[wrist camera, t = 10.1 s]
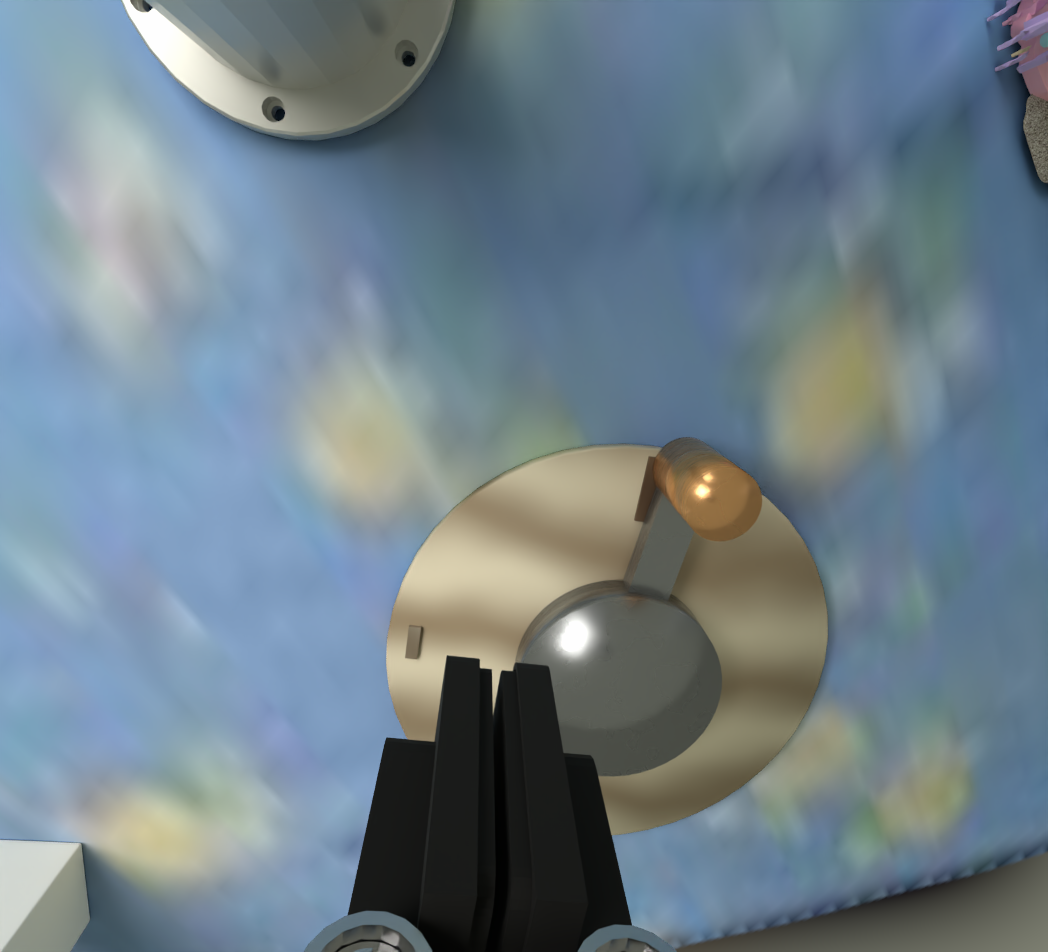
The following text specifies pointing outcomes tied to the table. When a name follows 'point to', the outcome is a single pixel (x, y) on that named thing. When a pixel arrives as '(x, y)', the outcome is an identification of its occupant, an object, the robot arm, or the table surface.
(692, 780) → the dial plate
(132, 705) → the table surface
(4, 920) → the milk
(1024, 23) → the candy landscape model
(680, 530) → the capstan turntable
